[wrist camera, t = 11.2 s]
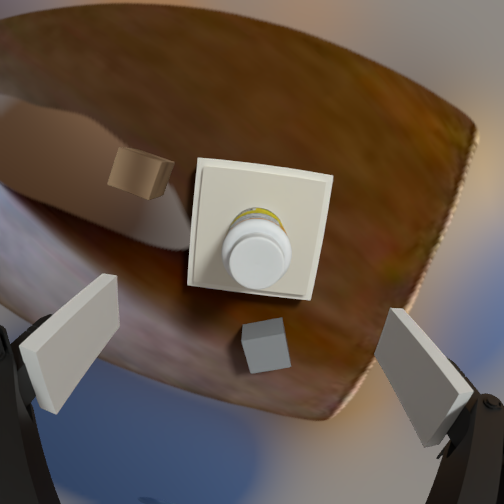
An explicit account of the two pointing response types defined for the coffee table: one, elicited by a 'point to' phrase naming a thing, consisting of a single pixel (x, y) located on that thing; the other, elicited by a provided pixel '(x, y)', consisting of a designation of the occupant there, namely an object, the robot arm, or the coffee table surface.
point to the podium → (262, 196)
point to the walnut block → (140, 173)
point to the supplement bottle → (256, 249)
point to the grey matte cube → (265, 345)
